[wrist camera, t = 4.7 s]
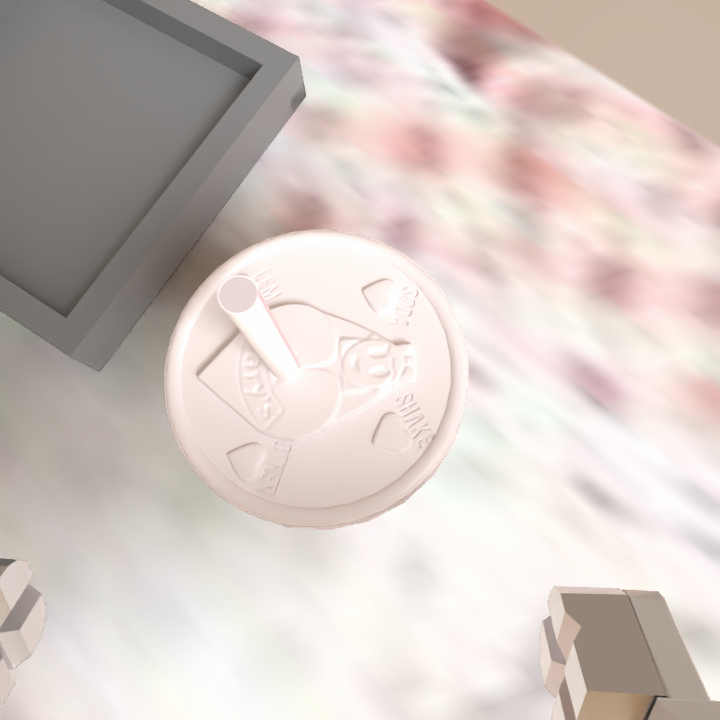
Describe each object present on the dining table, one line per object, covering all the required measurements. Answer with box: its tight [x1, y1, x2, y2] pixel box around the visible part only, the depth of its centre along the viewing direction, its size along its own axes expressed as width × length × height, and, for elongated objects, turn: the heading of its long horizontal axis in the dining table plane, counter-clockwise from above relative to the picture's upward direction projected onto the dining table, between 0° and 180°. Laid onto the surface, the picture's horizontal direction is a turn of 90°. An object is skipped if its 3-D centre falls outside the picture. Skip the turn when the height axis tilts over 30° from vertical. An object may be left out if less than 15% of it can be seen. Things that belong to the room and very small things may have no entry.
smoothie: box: [164, 230, 469, 530], centre depth 15 cm, size 6×6×14 cm
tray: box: [0, 0, 306, 372], centre depth 24 cm, size 14×14×2 cm
